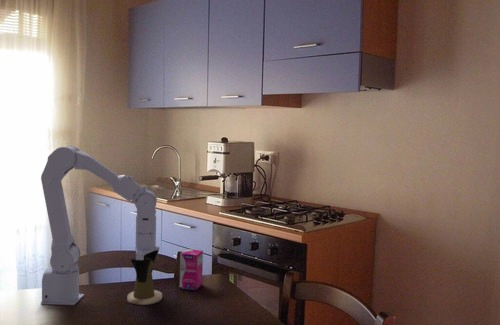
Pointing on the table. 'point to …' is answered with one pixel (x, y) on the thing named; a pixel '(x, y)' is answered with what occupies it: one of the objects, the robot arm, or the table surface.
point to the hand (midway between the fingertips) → (145, 277)
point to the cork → (145, 285)
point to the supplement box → (191, 269)
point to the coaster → (154, 299)
